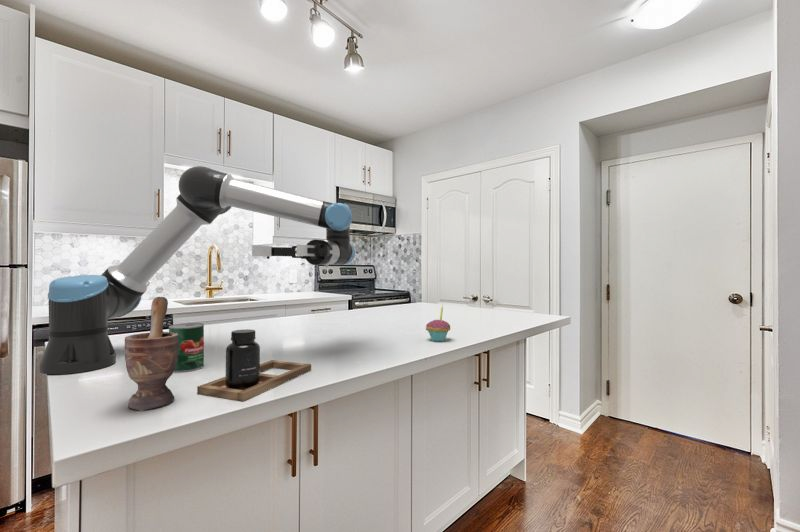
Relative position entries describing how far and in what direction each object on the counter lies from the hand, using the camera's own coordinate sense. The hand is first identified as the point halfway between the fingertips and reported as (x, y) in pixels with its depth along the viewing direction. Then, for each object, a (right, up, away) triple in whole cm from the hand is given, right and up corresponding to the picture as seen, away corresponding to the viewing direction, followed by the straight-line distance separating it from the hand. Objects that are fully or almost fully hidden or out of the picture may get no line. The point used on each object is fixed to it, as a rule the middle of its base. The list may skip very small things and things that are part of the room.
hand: (274, 250), depth 95 cm
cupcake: (+44, -30, +38) cm, 66 cm away
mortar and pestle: (-17, -30, -20) cm, 40 cm away
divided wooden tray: (-1, -30, -8) cm, 31 cm away
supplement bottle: (-3, -30, -13) cm, 33 cm away
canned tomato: (-24, -30, +3) cm, 38 cm away
